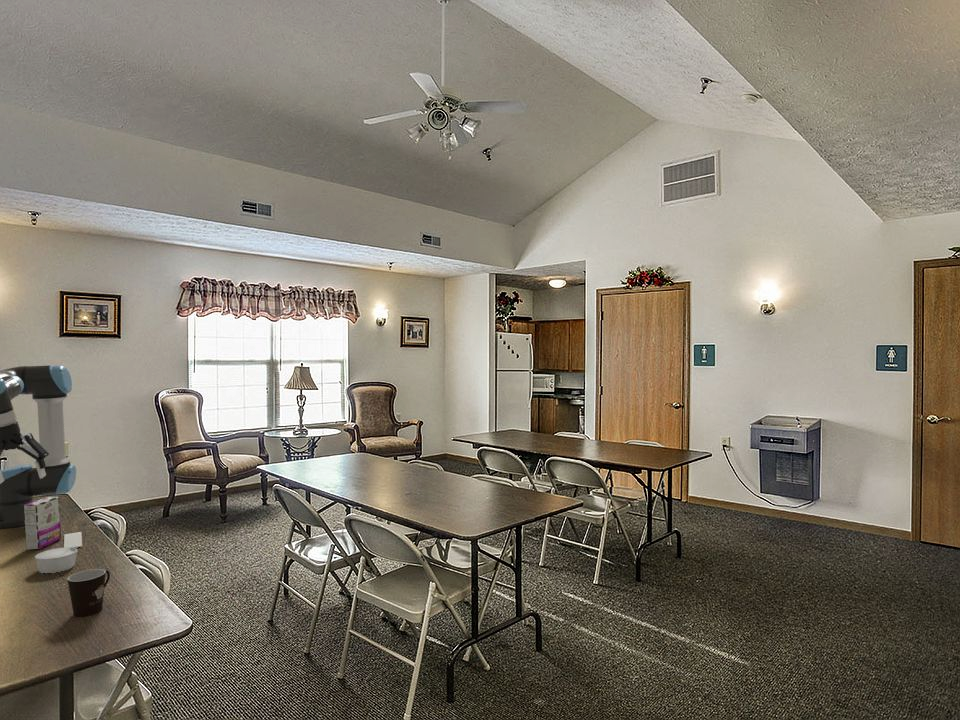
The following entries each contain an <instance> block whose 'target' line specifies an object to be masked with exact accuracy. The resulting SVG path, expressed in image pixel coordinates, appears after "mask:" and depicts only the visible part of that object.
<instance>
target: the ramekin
mask: <svg viewBox="0 0 960 720" xmlns="http://www.w3.org/2000/svg"><path fill="white" fill-rule="evenodd" d="M77 555H78V548H72V547H64V546H63V547H57V548H52V549H47V550H45V551H44V550H43V551H42V552H39V553H37V554H35V555H34V560H35V562H36V563H35V564H36V567H37V568H36V569H37V571H38V572H39V573H40V574H43V573H46V575H48V574H47V573H52V574H56V572H58V573H61V571H62V572H65V571H68V570H70V569H72V568H73V567H74V566H75V564H76V559H77Z"/></svg>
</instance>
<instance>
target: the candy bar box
mask: <svg viewBox="0 0 960 720" xmlns="http://www.w3.org/2000/svg"><path fill="white" fill-rule="evenodd" d="M24 515H25V525H24V526H25V528H24V530H25V546H26V550H27V549H40V550H41V548H42V549H43V547H44V548H46V547H48V546H50V544H51V545H52V543H53V544H55V543H57V542H59V541H61V540H62V532H61V531H62V529H61V511H60V497H59V496H46V497H43V498H41V499H38V500H33V502H32V503H29V504H26V505H24ZM60 539H61V540H60ZM58 540H59V541H58ZM56 541H57V542H56ZM54 542H55V543H54ZM47 545H48V546H47ZM45 546H46V547H45Z"/></svg>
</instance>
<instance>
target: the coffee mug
mask: <svg viewBox="0 0 960 720" xmlns="http://www.w3.org/2000/svg"><path fill="white" fill-rule="evenodd" d="M106 576H107V577H106ZM66 579H67V583H68V584H67V585H68V590H69V595H70V601H71V606H72V611H73V613H72V614H73V616H74V617H75V618H87V617H90V616H91V617H92V616H94V615H96V614H99V613H101V612H102V610H103V604H104V603H103V602H104V594H105V588H106V587H107V585H108V583H109V581H110V579H111V573H110V571H109V570H106V569H102V568H93V569H92V568H91V569H86V570H85V569H84V570H81V571H78V572H75V573H73V574H71V575H69V576H68V577H67V578H66Z"/></svg>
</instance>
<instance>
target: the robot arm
mask: <svg viewBox="0 0 960 720" xmlns="http://www.w3.org/2000/svg"><path fill="white" fill-rule="evenodd" d="M72 387H73V382H72V377H71V374H70V372H69V370H68V368H67V367H65V366H63V365H57V364H56V365H52V364H51V365H29V366H26V365H23V366H21V365H20V366H15V367H14V366H13V367H9V368H6V369H5V368H4V369H0V457H1V456H2V454H3V452H4V451H8V450H16V449H17V450H19V451H22V452H23V453H25V454H26V455H28V456H29V457H31V458H33V459H34V460H35V461H34V464H35V467H33V465H32V463H31V464H27V463H26V464H22V465H21V464H20V465H16V466H15V465H14V466H12V467H8V468H7V467H6V468H3V469H2V470H1V468H0V529H8V528H9V529H10V528H16V527H18V528H19V527H23V526H25V515H24V505H26V504H29V503H32V502H34V497H38V496H39V497H40V496H50V495H54V496H55V495H56V496H57V495H62V494H68V493H69V492H71V490H72V489H73V487H74V485H75V482H76V479H77V478H76V477H77V467H76V465H74V464H71V459H70V458H67V457H66V442H65V439H66V438H65V423H64V421H65V419H64V418H65V417H64V402H63V401H64V400H66V398H67V397H68V394H69V393H71V392H72V389H73V388H72ZM19 395H31V396H32V400H33V401H35V402H36V403H37V405H36V406H37V419H38V437H39V440H38V441H39V442H38V441H37V439H35V437H34V436H33V433H31V432H28V433H26V434H22V433H21V428H20V425H19V422H18V421H17V416H16V412H15V410H14V407H13V403H12V400H13V399H14V398H17V397H18V396H19Z"/></svg>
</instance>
